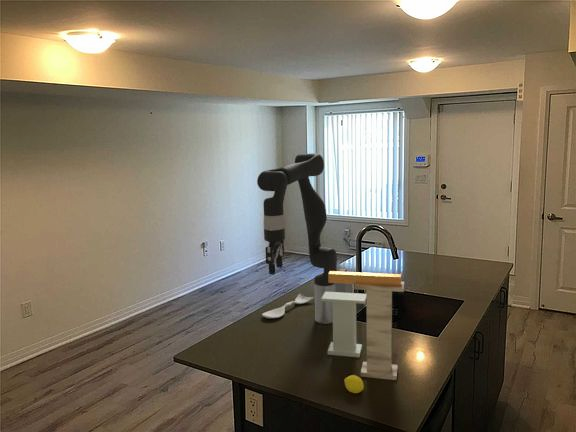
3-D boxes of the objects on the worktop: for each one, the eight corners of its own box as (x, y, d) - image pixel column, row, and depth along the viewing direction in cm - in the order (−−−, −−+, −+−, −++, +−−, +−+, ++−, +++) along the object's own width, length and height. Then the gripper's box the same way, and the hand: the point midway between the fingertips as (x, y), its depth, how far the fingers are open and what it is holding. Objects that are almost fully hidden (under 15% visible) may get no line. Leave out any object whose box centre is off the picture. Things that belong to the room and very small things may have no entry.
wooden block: (330, 279, 166) (330, 271, 165) (401, 283, 160) (401, 274, 159) (328, 282, 163) (328, 273, 162) (400, 286, 157) (400, 277, 156)
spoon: (314, 302, 237) (314, 295, 236) (273, 323, 212) (273, 316, 212) (300, 299, 242) (299, 292, 242) (258, 319, 218) (257, 311, 217)
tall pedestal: (357, 364, 171) (356, 279, 166) (403, 369, 167) (404, 281, 162) (354, 375, 164) (353, 286, 158) (402, 380, 159) (403, 288, 154)
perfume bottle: (340, 302, 235) (339, 267, 232) (352, 305, 231) (352, 269, 228) (333, 306, 229) (332, 270, 226) (345, 309, 225) (345, 272, 222)
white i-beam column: (326, 344, 188) (325, 291, 184) (367, 348, 184) (366, 293, 180) (322, 354, 181) (321, 298, 177) (364, 357, 176) (364, 301, 173)
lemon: (366, 392, 154) (368, 377, 153) (357, 399, 150) (359, 384, 149) (348, 383, 158) (350, 368, 157) (339, 390, 154) (341, 375, 153)
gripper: (270, 223, 179) (272, 264, 181) (257, 230, 165) (259, 275, 168) (289, 223, 176) (291, 265, 179) (278, 231, 163) (279, 277, 166)
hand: (275, 270), depth 174 cm, fingers open, 8 cm apart
